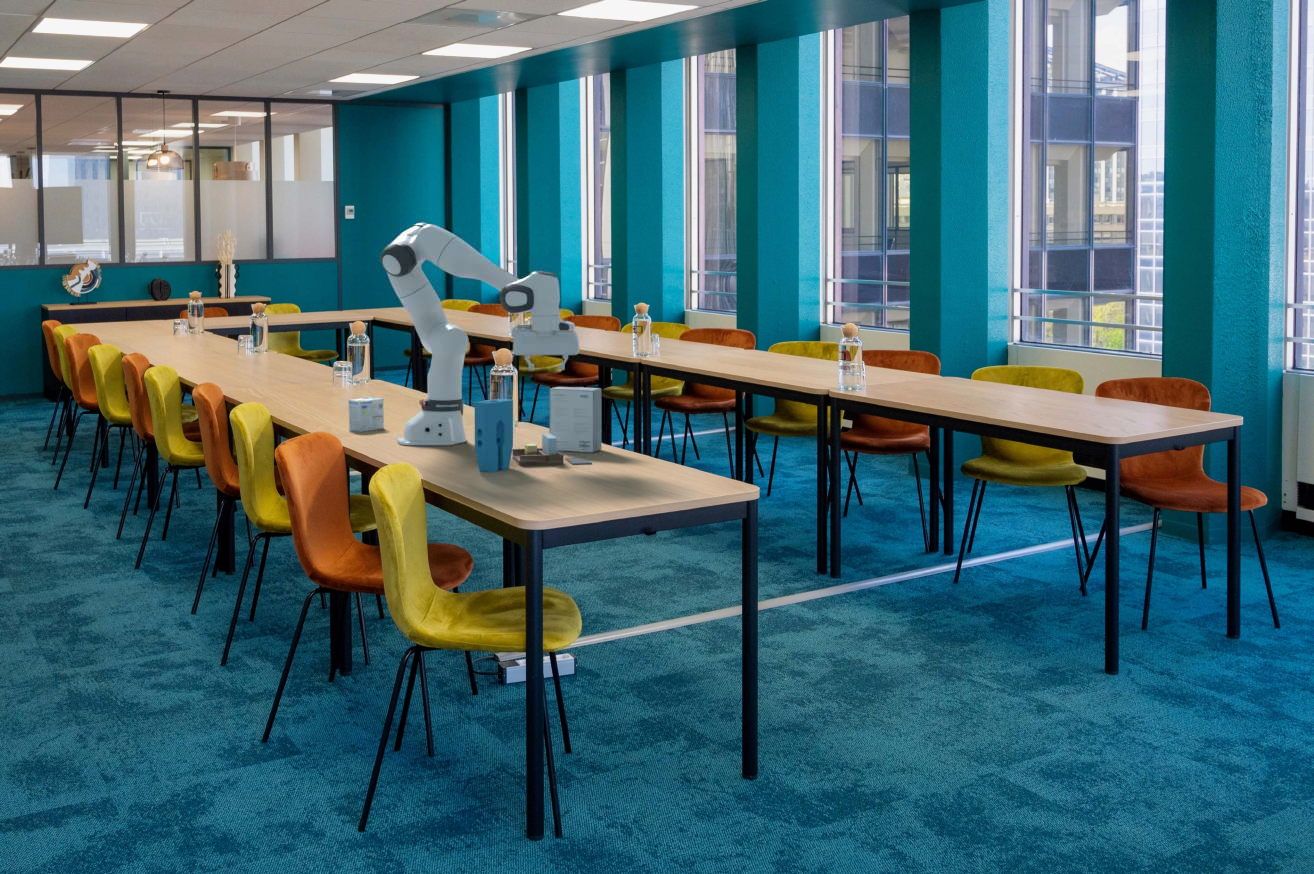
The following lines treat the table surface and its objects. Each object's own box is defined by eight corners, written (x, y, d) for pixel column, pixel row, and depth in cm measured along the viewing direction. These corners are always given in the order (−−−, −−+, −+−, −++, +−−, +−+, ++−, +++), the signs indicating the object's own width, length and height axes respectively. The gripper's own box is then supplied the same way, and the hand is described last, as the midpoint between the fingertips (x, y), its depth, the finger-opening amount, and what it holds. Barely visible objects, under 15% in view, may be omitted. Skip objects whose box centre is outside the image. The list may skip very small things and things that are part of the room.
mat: (572, 464, 375) (572, 463, 375) (564, 459, 384) (564, 457, 384) (591, 464, 376) (591, 462, 376) (583, 458, 386) (583, 457, 386)
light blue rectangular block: (548, 459, 375) (548, 438, 374) (542, 454, 384) (542, 433, 383) (556, 459, 376) (556, 438, 375) (550, 454, 385) (550, 433, 384)
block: (501, 465, 371) (501, 398, 368) (514, 467, 369) (514, 400, 366) (473, 470, 362) (473, 402, 359) (486, 472, 359) (485, 403, 356)
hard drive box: (602, 449, 403) (602, 388, 400) (593, 453, 395) (593, 390, 392) (557, 446, 408) (558, 385, 405) (548, 450, 400) (548, 388, 397)
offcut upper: (527, 451, 378) (527, 445, 378) (524, 449, 382) (524, 443, 382) (537, 451, 379) (537, 445, 379) (534, 449, 383) (534, 443, 383)
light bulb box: (371, 426, 444) (371, 396, 442) (384, 428, 440) (384, 398, 438) (348, 430, 435) (347, 399, 434) (361, 432, 431) (360, 401, 430)
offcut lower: (527, 457, 378) (527, 451, 378) (524, 455, 382) (524, 449, 382) (537, 457, 379) (537, 451, 379) (534, 455, 383) (534, 449, 383)
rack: (512, 458, 383) (512, 448, 383) (554, 457, 387) (554, 447, 387) (520, 466, 371) (520, 456, 371) (563, 464, 375) (563, 454, 374)
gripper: (510, 325, 379) (511, 371, 382) (577, 325, 379) (578, 370, 381) (513, 324, 386) (514, 368, 388) (579, 323, 385) (580, 368, 387)
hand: (546, 369), depth 385 cm, fingers open, 8 cm apart
